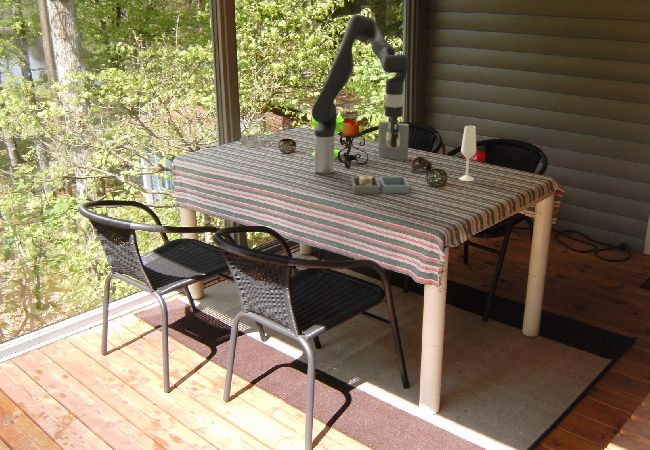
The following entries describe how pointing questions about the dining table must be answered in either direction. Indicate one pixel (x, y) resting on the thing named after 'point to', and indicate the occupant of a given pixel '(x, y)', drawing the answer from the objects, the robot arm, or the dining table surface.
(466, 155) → the champagne flute
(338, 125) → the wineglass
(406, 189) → the slate bin
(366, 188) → the charcoal bin
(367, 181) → the blank cube
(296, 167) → the dining table surface
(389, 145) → the letter cube
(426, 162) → the pottery mug
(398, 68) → the robot arm
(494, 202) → the dining table surface
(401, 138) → the hip flask
